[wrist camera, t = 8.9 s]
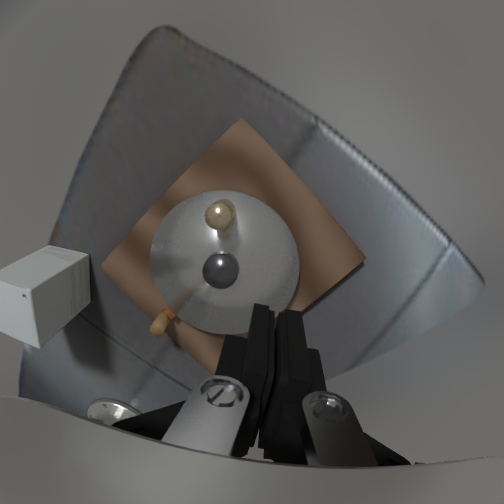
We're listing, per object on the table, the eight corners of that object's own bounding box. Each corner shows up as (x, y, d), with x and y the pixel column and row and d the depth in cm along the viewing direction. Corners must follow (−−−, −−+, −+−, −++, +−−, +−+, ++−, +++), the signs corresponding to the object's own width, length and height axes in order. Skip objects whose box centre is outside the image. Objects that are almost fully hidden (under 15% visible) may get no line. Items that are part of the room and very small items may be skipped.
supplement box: (48, 243, 38) (-14, 273, 26) (91, 253, 38) (31, 290, 26) (50, 291, 40) (-4, 331, 28) (91, 304, 40) (40, 351, 28)
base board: (215, 369, 41) (208, 393, 36) (105, 262, 38) (84, 276, 33) (363, 254, 36) (376, 269, 31) (243, 119, 33) (237, 112, 27)
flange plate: (328, 270, 34) (336, 287, 30) (217, 356, 38) (211, 379, 34) (227, 157, 32) (219, 157, 27) (123, 262, 36) (104, 275, 31)
